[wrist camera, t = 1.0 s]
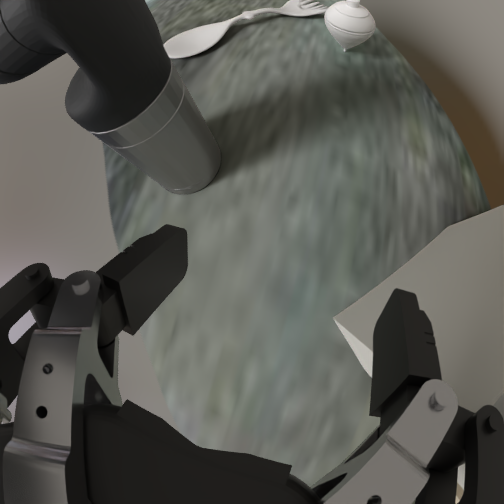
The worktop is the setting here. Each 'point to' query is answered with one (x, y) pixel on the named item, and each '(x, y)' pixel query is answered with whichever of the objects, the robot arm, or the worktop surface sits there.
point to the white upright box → (450, 309)
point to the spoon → (212, 33)
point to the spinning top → (349, 23)
